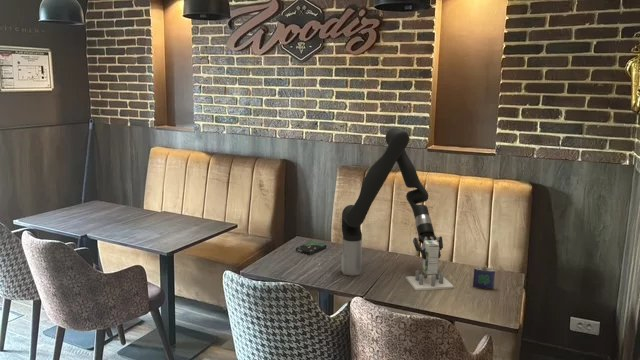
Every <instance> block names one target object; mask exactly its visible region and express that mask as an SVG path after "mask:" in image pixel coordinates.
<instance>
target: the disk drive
mask: <svg viewBox="0 0 640 360" xmlns="http://www.w3.org/2000/svg"><path fill="white" fill-rule="evenodd" d="M327 247H328V246H327V244H324V243H321V242H316V241H309V242H307V243H305V244H302V245H299V246H297V247H296V248H295V252H296V251H298V252H297V253H299V252H301V253H300V254H303V253H304V254H303V255H306V254H307V256H310V255H311V256H313V255H315V254H317V253H319V252H322V251H324V250H327Z"/></svg>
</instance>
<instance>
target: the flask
mask: <svg viewBox="0 0 640 360" xmlns="http://www.w3.org/2000/svg"><path fill="white" fill-rule="evenodd" d="M487 267H488V265H484V266H483V267H480V266H478V267H474V269H473V282H472V287H473V288H475V289H480V290H491V291H492V290H494V288H495V278H496V270H495V269H492V268H491V269H489V268H487Z"/></svg>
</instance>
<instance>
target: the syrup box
mask: <svg viewBox="0 0 640 360" xmlns="http://www.w3.org/2000/svg"><path fill="white" fill-rule="evenodd" d="M424 243H425V248H424V250H425V254H426V259H423V258H422V272H423V274H424V273H425V274H428V275H436V274H437V269H439V268H438V267H439V264H438V263H439V259H438V253H439V244H438V242H437V240H435V241H433V240H427V241H424Z"/></svg>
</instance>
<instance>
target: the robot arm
mask: <svg viewBox="0 0 640 360" xmlns="http://www.w3.org/2000/svg"><path fill="white" fill-rule="evenodd" d="M384 140H385V142H386V144H387V148H386V150H385V151H384V153H383V154H382V155H381V156H380V157H379V158H378V160H376V161H375V162H374V163H373V164H372V165H371V166H370V167H369V169H368V171H367V173H366V175H365V176H364V178H363V180H362V183H361V186H360V192H359V195H358V197H357V199H356V201H355V203H354V204H348V205H347V206H345V207H344V208H343V210H342V213H341V232H342V251H341V257H340V259H341V263H340V264H341V265H340V266H341V268H340V271H341V273H342V274H343V275H345V276H351V277H352V276H358V275H359V276H360V274H361V273H362V250H363V249H362V247H363V233H362V230H361V226H362V224H363V223H364V221H365V219H366V218H367V215H368V212H369V210H370V208H371V206H372V204H373V202H374V201H375V199H376V197H377V195H378V194H379V192H380V190H381V189H382V187H383V186H384V184H385V183H386V180H387V179H388V177H389V175H390V173H391V171H393V168H394V166H395V164H396V163H397V165H398V168H399V171H400V173H401V176H402V179H403V182H404V185H405V186H406V187H407V188H409V189H411V188H412V190H409V191H408V192H407V193H406V196H405V197H406V201H407V202H408V204H409V206H410V207H411V210H412V212H413V216H414V220H415V222H414V223H415V229H416V232H417V235H418V236H417V237H414V238H413V239H412V243H413V245H414V248H415V251H416V252H420V255H421V258H422V260H423V259H426V254H425V250H424V248H425V243H424V241H427V240H433V241H436V242H437V243H438V244H439V253H438V260H439V259H440V258H441V256H442V254H441V251H442V249H444V243H443V237H442V236H439V237H438V236H436V235H435V230H434V226H433V223H432V219H431V217H430V213H429V209H428V206H427V205H425V204H421V203H425V202H427V201H428V200H429V193H428V191H427V189H426V188H425V187H424V186H423V183H422V182H421V181H420V178H419V176H418V172H417V170H416V168H415V166H414V164H413V161H412V160H411V159H410V157H409V155H408V153H407V151H406V148H407V146H408V145H409V143H410V136H409V133H408V131H407V132H406V131H404V130H402V129H399V128H395V127H394V128H389V130H387V132H386V134H385V139H384ZM414 188H415V189H414ZM419 242H420V243H421V246H420V244H419Z"/></svg>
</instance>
